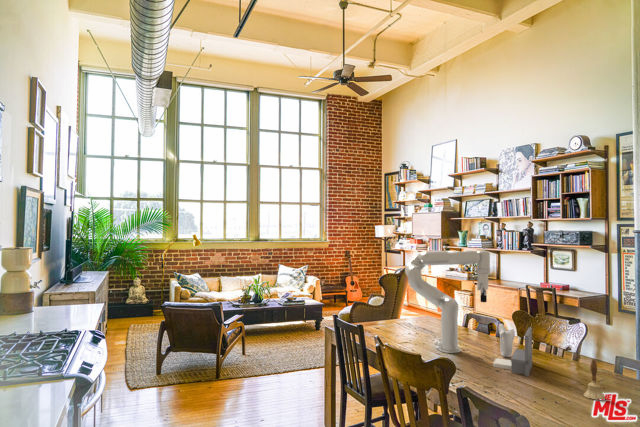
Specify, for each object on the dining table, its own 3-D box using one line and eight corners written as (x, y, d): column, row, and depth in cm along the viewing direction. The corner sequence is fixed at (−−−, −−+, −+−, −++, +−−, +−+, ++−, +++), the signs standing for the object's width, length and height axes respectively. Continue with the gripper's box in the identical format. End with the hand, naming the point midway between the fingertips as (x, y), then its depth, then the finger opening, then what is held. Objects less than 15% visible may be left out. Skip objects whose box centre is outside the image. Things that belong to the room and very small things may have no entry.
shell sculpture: (516, 359, 239) (515, 326, 240) (500, 358, 241) (500, 326, 241) (512, 354, 247) (512, 323, 248) (497, 353, 249) (496, 322, 249)
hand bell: (579, 393, 189) (578, 357, 189) (596, 393, 190) (595, 356, 190) (592, 401, 181) (591, 363, 181) (610, 400, 181) (610, 362, 182)
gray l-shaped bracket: (511, 373, 215) (510, 333, 215) (516, 362, 233) (515, 325, 233) (528, 376, 210) (528, 335, 211) (532, 364, 228) (531, 327, 229)
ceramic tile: (493, 367, 225) (493, 363, 225) (496, 362, 234) (496, 358, 234) (526, 373, 217) (526, 368, 217) (528, 367, 226) (528, 362, 226)
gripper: (479, 270, 265) (479, 299, 264) (474, 272, 252) (474, 303, 251) (491, 270, 261) (492, 300, 260) (487, 272, 248) (488, 304, 247)
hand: (483, 301), depth 256 cm, fingers closed
